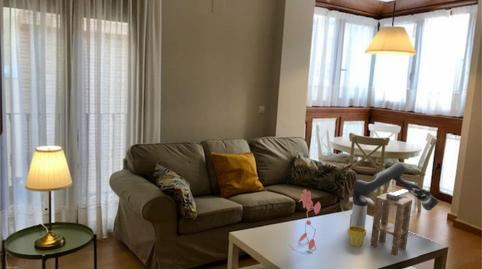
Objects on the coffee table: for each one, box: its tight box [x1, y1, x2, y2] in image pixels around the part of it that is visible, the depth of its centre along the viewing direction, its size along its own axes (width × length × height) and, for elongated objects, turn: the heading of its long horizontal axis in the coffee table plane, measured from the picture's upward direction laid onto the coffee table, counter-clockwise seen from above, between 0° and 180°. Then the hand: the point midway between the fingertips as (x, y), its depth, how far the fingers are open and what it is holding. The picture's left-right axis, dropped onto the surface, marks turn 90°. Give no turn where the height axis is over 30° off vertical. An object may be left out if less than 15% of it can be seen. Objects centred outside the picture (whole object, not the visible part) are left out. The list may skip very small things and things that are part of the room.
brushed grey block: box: [386, 188, 410, 201], centre depth 235 cm, size 20×6×3 cm, turn 134°
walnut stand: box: [369, 192, 413, 256], centre depth 233 cm, size 16×14×31 cm
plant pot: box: [347, 226, 367, 247], centre depth 237 cm, size 10×10×10 cm
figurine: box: [298, 189, 322, 255], centre depth 228 cm, size 15×26×35 cm, turn 17°
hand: (415, 189), depth 253 cm, fingers open, 8 cm apart
